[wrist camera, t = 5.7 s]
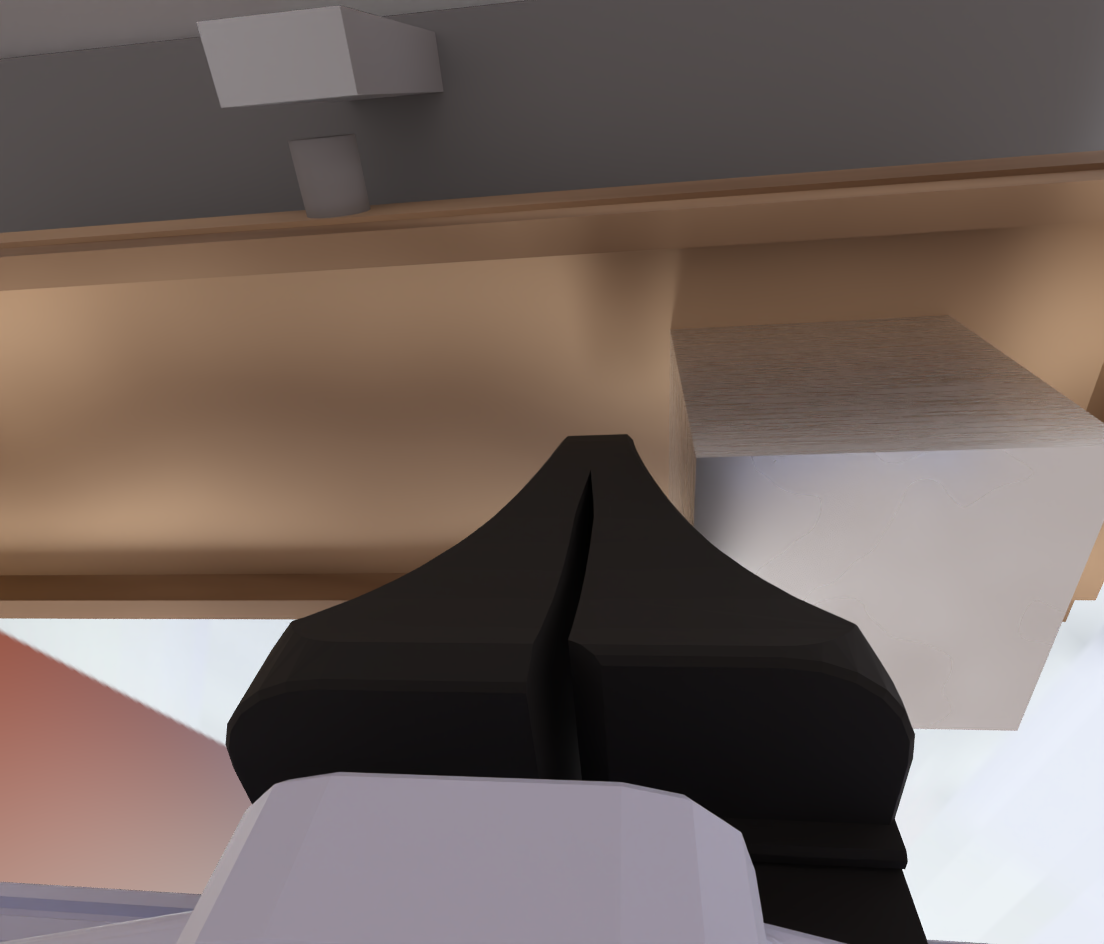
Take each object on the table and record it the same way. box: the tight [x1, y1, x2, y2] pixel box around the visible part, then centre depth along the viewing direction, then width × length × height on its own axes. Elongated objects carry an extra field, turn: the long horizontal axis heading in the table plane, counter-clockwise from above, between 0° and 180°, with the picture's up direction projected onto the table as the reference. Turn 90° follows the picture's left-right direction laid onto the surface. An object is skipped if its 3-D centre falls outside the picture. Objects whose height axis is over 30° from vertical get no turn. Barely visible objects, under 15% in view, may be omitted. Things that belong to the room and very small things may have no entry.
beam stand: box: [0, 0, 1104, 233], centre depth 17 cm, size 16×33×6 cm, turn 95°
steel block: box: [669, 315, 1104, 731], centre depth 11 cm, size 5×5×5 cm
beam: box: [0, 134, 1104, 622], centre depth 14 cm, size 12×30×2 cm, turn 95°
